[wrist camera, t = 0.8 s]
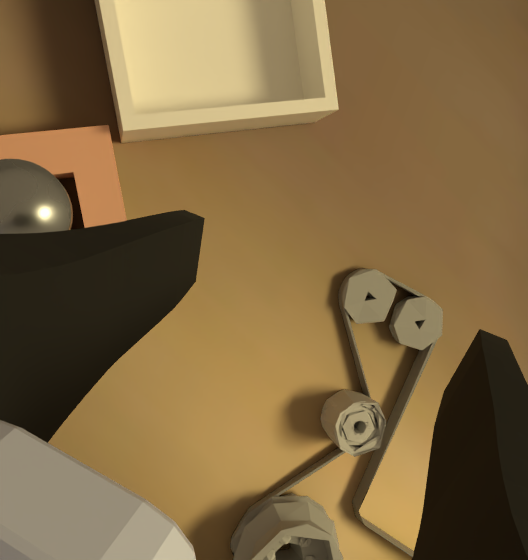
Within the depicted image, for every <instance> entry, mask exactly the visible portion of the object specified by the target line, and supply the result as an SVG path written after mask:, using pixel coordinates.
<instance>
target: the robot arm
mask: <svg viewBox="0 0 528 560" xmlns="http://www.w3.org/2000/svg"><path fill="white" fill-rule="evenodd" d="M203 225H204V218H203V217H200V216H198V215H195V214H193V213H190V212H188V211H185V210H181V211H173V212H167V213H161V214H156V215H151V216H147V217H142V218H137V219H132V220H127V221H122V222H117V223H111V224H105V225H99V226H93V227H87V228H81V229H74V230H65V231H55V232H42V233H18V234H0V560H196V557H195V552H194V549H193V546H192V544H191V543H190V542H189V540H188V539H187V538H186V536H185V535H184V533H183V532H182V531H181V529H180V528H179V527H178V525H177V524H176V523H175V521H173V520H172V519H171V518H170V517H168V516H167V515H166V514H164V513H163V512H162V511H160V510H159V509H158V508H157V507H155V506H154V505H153V504H151V503H150V502H149V501H147V500H146V499H144V498H142V497H141V496H139V495H137V494H135V493H134V492H132V491H130V490H128V489H127V488H125V487H123V486H122V485H120V484H118V483H116V482H115V481H113V480H111V479H109V478H108V477H106V476H104V475H102V474H101V473H99V472H97V471H96V470H94V469H92V468H90V467H89V466H87V465H85V464H83V463H82V462H80V461H78V460H76V459H75V458H73V457H71V456H69V455H68V454H66V453H64V452H63V451H61V450H59V449H57V448H56V447H54V446H52V445H50V444H49V443H48V441H49V440H50V439H51V438H52V436H53V435H54V434H55V432H56V431H57V430H58V429H59V427H60V426H61V425H62V423H63V422H64V421H65V420H66V418H67V417H68V416H69V415H70V414H71V412H72V411H73V410H74V409H75V408H76V406H77V405H78V404H79V403H80V402H81V400H82V399H83V398H84V397H85V395H86V394H87V393H88V392H89V391H90V390H91V389H92V387H93V386H94V385H95V384H96V383H97V382H98V381H99V379H100V378H101V377H102V376H103V375H104V374H105V373H106V371H107V370H108V369H109V368H110V367H111V366H112V365H113V364H114V363H115V362H116V361H117V360H118V359H119V358H120V357H121V356H122V355H124V354H125V353H126V352H127V351H128V350H129V349H130V348H131V347H132V346H133V345H135V344H136V343H137V342H138V341H139V340H140V339H141V338H142V337H143V336H144V335H146V334H147V333H148V332H149V331H150V330H151V329H152V328H153V327H154V326H155V325H157V324H158V323H159V322H160V321H161V320H162V319H163V318H164V317H165V316H166V315H167V314H168V313H169V312H170V311H171V310H173V309H174V308H175V306H176V305H177V304H178V303H179V302H180V301H181V299H182V298H183V297H184V296H185V294H186V293H187V292H188V291H189V289H190V288H191V287H192V285H193V284H194V283H195V282H196V275H197V268H198V261H199V254H200V246H201V239H202V232H203ZM412 560H528V385H527V383H526V381H525V378H524V376H523V374H522V372H521V370H520V368H519V365H518V363H517V361H516V359H515V356H514V354H513V352H512V350H511V348H510V345H509V343H508V341H507V340H505V339H503V338H500V337H498V336H496V335H493V334H491V333H488V332H486V331H483V330H481V329H480V330H479V331H478V333H477V335H476V336H475V338H474V340H473V342H472V343H471V345H470V347H469V349H468V350H467V352H466V354H465V356H464V357H463V359H462V361H461V363H460V364H459V366H458V368H457V370H456V371H455V373H454V375H453V377H452V378H451V380H450V382H449V384H448V385H447V387H446V389H445V391H444V394H443V397H442V400H441V404H440V407H439V411H438V415H437V418H436V422H435V426H434V432H433V439H432V446H431V453H430V461H429V469H428V476H427V484H426V491H425V499H424V507H423V513H422V519H421V524H420V530H419V534H418V538H417V542H416V546H415V550H414V554H413V558H412Z"/></svg>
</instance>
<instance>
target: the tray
mask: <svg viewBox="0 0 528 560" xmlns="http://www.w3.org/2000/svg"><path fill="white" fill-rule="evenodd" d="M94 1H95V6H96V12H97V17H98V22H99V28H100V33H101V38H102V44H103V49H104V54H105V60H106V65H107V70H108V76H109V81H110V86H111V92H112V97H113V102H114V108H115V113H116V118H117V124H118V129H119V134H120V140H121V143H129V142H139V141H148V140H157V139H167V138H176V137H186V136H195V135H204V134H214V133H223V132H232V131H242V130H251V129H260V128H270V127H279V126H288V125H298V124H307V123H314V122H316V121H318V120H320V119H322V118H324V117H325V116H327V115H329V114H331V113H333V112H335V111H337V110H338V109H339V108H338V101H337V93H336V85H335V77H334V70H333V62H332V54H331V46H330V39H329V31H328V23H327V16H326V8H325V0H94Z"/></svg>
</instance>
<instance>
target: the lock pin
mask: <svg viewBox="0 0 528 560" xmlns="http://www.w3.org/2000/svg"><path fill="white" fill-rule="evenodd" d="M72 223H73V210H72V204H71V201H70V198H69V195H68V193H67V191H66V190H65V188H64V187H63V185H62V184H61V183H60V182H59V180H58V179H57V178H56V177H55V176H54V175H53V174H52V173H50V172H49V171H48V170H46V169H45V168H43V167H41V166H40V165H37V164H35V163H33V162H30V161H26V160H21V159H1V160H0V234H18V233H42V232H55V231H65V230H71V228H72Z"/></svg>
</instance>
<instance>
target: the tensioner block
mask: <svg viewBox="0 0 528 560" xmlns="http://www.w3.org/2000/svg"><path fill="white" fill-rule="evenodd" d="M1 159H21V160H26V161H30V162H33V163H35V164H37V165H40V166H41V167H43V168H45V169H46V170H48V171H49V172H50V173H52V174H53V175H54V176H55V177H56V178H57V179H65V178H73V177H75V182H76V187H77V192H78V197H79V202H80V207H81V212H82V217H83V222H84V227H85V228H87V227H93V226H99V225H105V224H111V223H117V222H122V221H127V219H126V214H125V209H124V203H123V198H122V193H121V188H120V182H119V177H118V172H117V167H116V161H115V156H114V151H113V145H112V140H111V135H110V130H109V125H102V126H92V127H82V128H71V129H61V130H51V131H40V132H30V133H19V134H9V135H0V160H1Z"/></svg>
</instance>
